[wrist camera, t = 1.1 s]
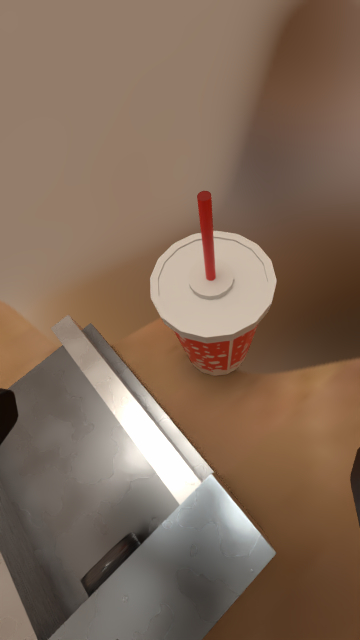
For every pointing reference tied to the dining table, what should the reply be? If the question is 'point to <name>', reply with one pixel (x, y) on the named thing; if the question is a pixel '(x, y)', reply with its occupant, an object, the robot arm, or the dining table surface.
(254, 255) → the beverage cup
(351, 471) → the robot arm
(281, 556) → the dining table surface
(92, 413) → the housing
